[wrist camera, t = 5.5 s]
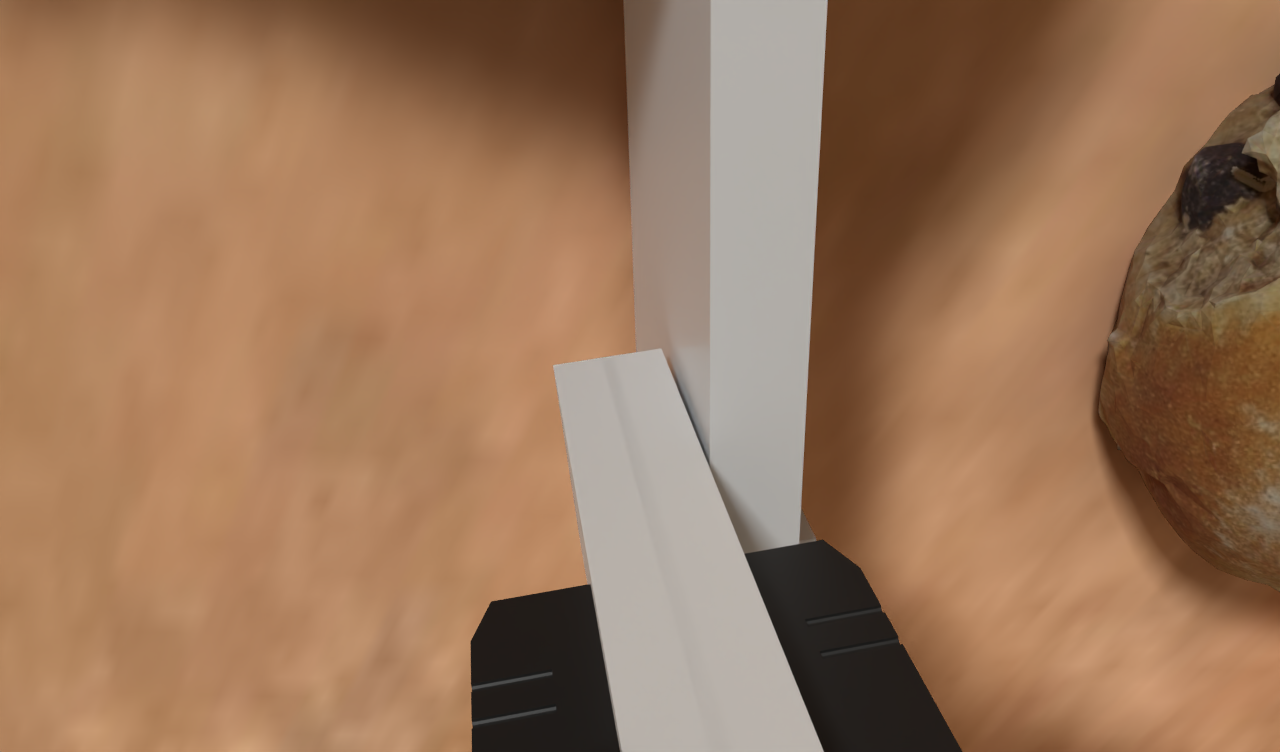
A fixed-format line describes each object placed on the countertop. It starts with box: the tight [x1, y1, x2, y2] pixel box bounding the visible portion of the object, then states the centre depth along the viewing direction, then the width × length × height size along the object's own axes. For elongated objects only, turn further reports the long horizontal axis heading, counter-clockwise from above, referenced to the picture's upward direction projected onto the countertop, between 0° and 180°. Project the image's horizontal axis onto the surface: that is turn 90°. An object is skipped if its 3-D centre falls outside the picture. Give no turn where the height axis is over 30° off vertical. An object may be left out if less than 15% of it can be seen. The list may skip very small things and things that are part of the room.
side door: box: [624, 0, 828, 554], centre depth 13 cm, size 2×10×6 cm, turn 2°
